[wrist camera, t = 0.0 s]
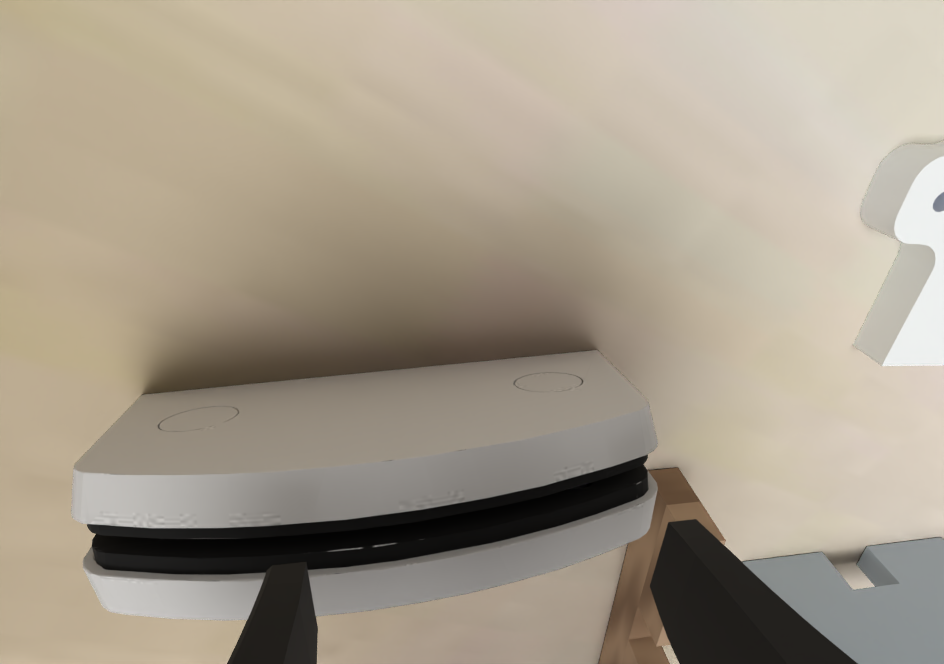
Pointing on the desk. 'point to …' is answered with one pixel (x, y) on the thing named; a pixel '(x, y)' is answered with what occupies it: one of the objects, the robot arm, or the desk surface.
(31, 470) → the desk surface
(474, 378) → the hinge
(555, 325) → the desk surface
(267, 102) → the desk surface
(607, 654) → the walnut plate
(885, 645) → the upright grey panel
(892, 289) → the mounting plate
